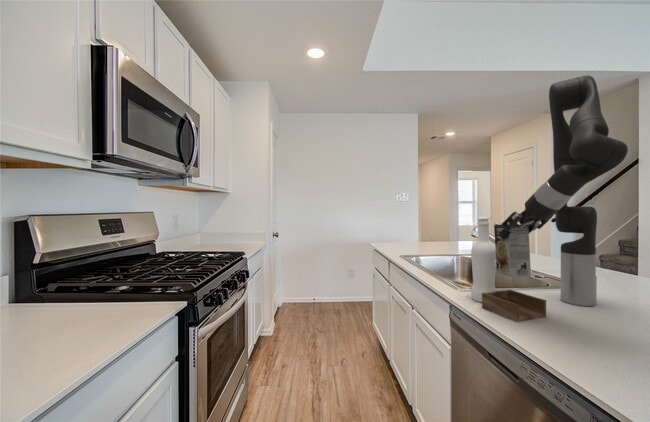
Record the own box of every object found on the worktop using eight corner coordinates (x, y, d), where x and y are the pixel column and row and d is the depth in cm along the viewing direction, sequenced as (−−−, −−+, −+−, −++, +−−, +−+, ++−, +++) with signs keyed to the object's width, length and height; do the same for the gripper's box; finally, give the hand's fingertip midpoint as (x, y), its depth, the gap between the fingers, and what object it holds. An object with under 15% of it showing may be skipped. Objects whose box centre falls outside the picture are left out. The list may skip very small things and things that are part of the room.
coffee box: (495, 272, 99) (493, 224, 100) (516, 272, 98) (513, 224, 99) (509, 276, 90) (506, 224, 91) (532, 277, 89) (528, 223, 90)
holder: (509, 303, 102) (509, 289, 102) (546, 316, 90) (546, 300, 90) (481, 307, 98) (481, 293, 98) (516, 322, 86) (516, 305, 86)
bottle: (500, 304, 101) (500, 217, 100) (474, 303, 103) (474, 217, 102) (491, 297, 109) (491, 216, 108) (468, 296, 111) (468, 216, 110)
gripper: (556, 190, 87) (520, 226, 98) (520, 190, 83) (487, 228, 94) (576, 208, 82) (535, 244, 94) (539, 209, 78) (501, 247, 89)
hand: (511, 236), depth 94 cm, fingers closed on coffee box, 8 cm apart
